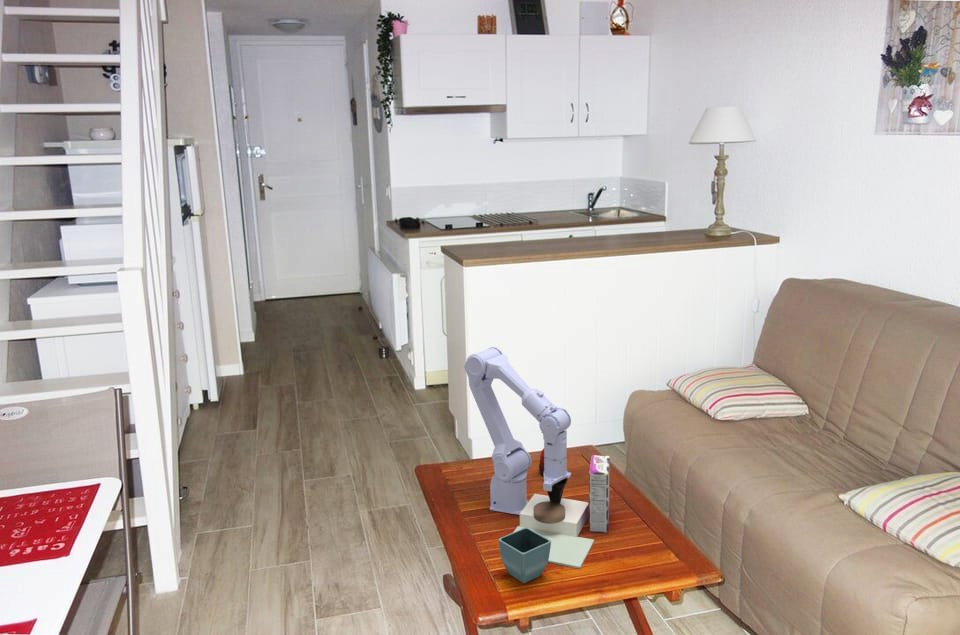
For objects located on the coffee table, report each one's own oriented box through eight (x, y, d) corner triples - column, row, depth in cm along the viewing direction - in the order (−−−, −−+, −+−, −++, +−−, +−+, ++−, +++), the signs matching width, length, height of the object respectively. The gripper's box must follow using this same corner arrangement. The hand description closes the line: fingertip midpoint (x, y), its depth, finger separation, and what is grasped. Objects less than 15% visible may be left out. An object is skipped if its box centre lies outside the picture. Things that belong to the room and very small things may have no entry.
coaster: (529, 520, 186) (529, 513, 186) (539, 506, 193) (539, 499, 193) (559, 526, 183) (559, 518, 183) (569, 511, 190) (569, 504, 190)
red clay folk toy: (566, 477, 219) (566, 429, 216) (543, 480, 218) (543, 432, 214) (557, 467, 227) (557, 420, 223) (535, 469, 225) (535, 423, 222)
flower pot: (526, 560, 176) (526, 526, 174) (552, 576, 169) (552, 540, 167) (498, 574, 170) (497, 538, 168) (523, 591, 164) (523, 554, 162)
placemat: (499, 552, 179) (499, 550, 179) (518, 527, 191) (518, 525, 191) (580, 568, 172) (580, 566, 172) (594, 541, 183) (594, 539, 183)
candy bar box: (590, 511, 199) (591, 454, 195) (609, 512, 198) (610, 455, 194) (588, 532, 188) (588, 472, 184) (608, 533, 187) (609, 473, 183)
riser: (519, 527, 191) (519, 513, 190) (534, 507, 202) (534, 493, 201) (576, 538, 185) (576, 523, 184) (588, 516, 196) (589, 502, 195)
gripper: (562, 469, 182) (562, 520, 185) (578, 447, 195) (577, 495, 198) (535, 465, 184) (535, 515, 187) (552, 444, 197) (552, 491, 200)
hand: (555, 505), depth 193 cm, fingers closed
